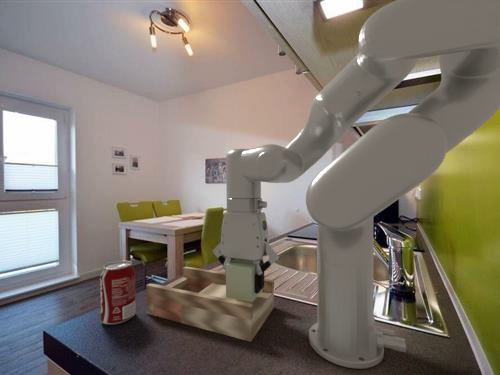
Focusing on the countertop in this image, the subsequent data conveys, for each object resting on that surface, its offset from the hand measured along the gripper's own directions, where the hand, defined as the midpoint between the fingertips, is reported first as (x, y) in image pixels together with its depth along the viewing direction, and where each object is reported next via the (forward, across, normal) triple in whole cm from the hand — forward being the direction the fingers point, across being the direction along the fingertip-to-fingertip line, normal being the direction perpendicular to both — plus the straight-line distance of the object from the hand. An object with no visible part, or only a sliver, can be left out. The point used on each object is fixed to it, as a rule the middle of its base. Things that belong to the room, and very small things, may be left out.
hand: (244, 287), depth 54 cm
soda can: (+7, +26, +11) cm, 29 cm away
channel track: (+7, +8, 0) cm, 11 cm away
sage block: (+1, 0, 0) cm, 1 cm away
